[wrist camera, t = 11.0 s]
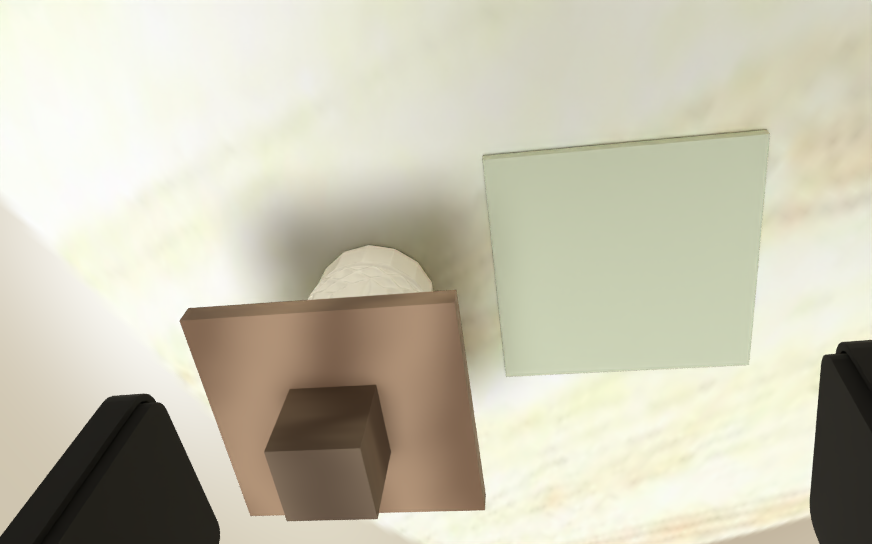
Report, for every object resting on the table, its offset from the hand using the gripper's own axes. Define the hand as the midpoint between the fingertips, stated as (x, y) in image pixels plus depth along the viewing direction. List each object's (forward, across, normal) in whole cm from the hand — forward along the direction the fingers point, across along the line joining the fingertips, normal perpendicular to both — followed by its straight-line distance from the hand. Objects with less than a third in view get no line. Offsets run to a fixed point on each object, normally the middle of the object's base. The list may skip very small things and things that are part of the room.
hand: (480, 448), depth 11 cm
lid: (+18, +10, +14) cm, 25 cm away
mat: (+29, -4, +14) cm, 32 cm away
